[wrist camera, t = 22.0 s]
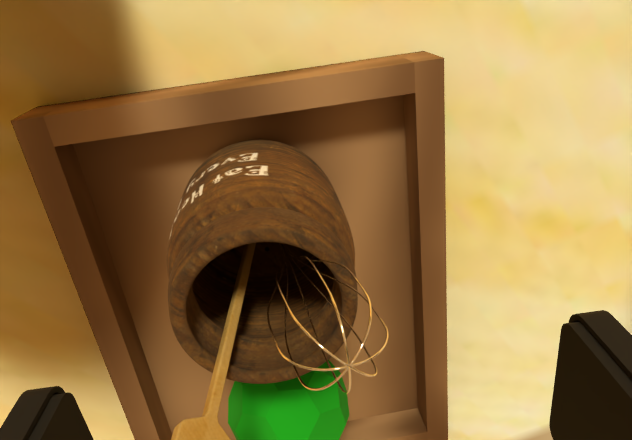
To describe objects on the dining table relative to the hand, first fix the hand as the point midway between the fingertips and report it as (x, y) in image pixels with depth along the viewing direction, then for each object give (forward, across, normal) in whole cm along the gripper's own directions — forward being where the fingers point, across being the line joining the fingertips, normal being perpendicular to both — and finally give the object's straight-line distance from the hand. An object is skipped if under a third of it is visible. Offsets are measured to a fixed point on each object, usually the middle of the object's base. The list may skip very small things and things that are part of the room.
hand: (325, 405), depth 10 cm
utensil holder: (+11, +2, +1) cm, 11 cm away
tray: (+11, +2, +5) cm, 12 cm away
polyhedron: (+11, +2, +8) cm, 14 cm away
